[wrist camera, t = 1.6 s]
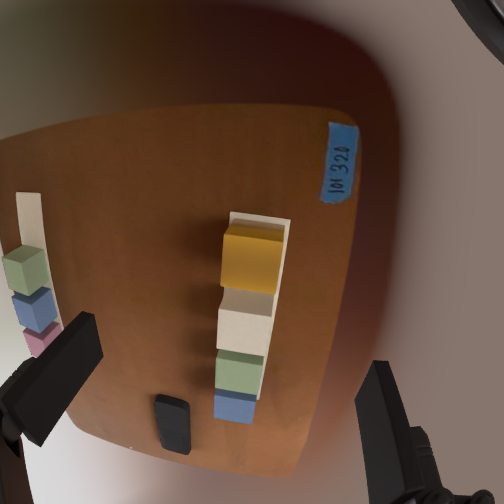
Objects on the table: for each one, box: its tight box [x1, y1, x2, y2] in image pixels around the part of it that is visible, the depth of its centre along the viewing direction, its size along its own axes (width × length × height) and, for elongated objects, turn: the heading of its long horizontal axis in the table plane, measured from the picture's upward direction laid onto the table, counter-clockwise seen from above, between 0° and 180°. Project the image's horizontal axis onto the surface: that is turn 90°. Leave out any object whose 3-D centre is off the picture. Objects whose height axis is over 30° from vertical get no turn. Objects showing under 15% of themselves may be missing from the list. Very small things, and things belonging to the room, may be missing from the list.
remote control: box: [154, 395, 191, 455], centre depth 38 cm, size 5×2×15 cm
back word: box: [2, 192, 64, 357], centre depth 30 cm, size 23×5×4 cm, turn 174°
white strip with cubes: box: [214, 211, 290, 424], centre depth 28 cm, size 23×5×4 cm, turn 174°
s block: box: [220, 218, 285, 294], centre depth 24 cm, size 4×4×4 cm
